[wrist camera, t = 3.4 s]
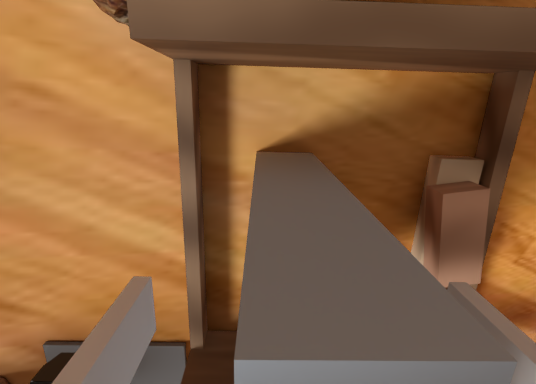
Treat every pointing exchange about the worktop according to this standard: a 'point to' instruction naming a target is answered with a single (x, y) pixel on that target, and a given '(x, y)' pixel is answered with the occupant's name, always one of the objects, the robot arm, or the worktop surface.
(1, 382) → the brown long-handled part
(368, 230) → the grey rectangular block
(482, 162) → the offcut lower
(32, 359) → the worktop surface
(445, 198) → the offcut upper
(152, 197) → the worktop surface
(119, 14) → the bread
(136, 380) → the mat
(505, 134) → the frame
